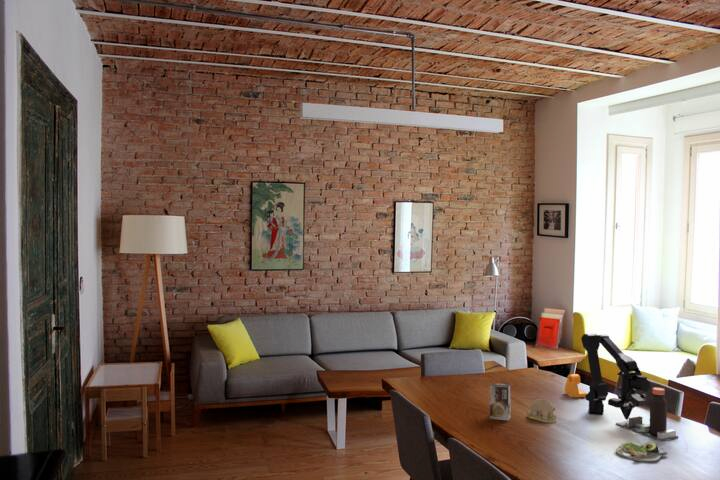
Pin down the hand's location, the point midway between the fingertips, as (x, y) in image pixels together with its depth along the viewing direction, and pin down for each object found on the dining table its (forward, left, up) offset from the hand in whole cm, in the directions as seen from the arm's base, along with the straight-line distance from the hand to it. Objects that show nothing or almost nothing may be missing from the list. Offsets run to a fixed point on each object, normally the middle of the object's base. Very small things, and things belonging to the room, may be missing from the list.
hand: (626, 419), depth 286 cm
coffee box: (-58, -10, -3) cm, 58 cm away
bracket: (-21, +44, -3) cm, 49 cm away
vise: (+7, -8, -2) cm, 11 cm away
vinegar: (+11, -13, -2) cm, 17 cm away
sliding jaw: (+6, -7, -1) cm, 9 cm away
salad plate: (0, -41, -3) cm, 41 cm away
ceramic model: (-38, -4, -3) cm, 38 cm away
